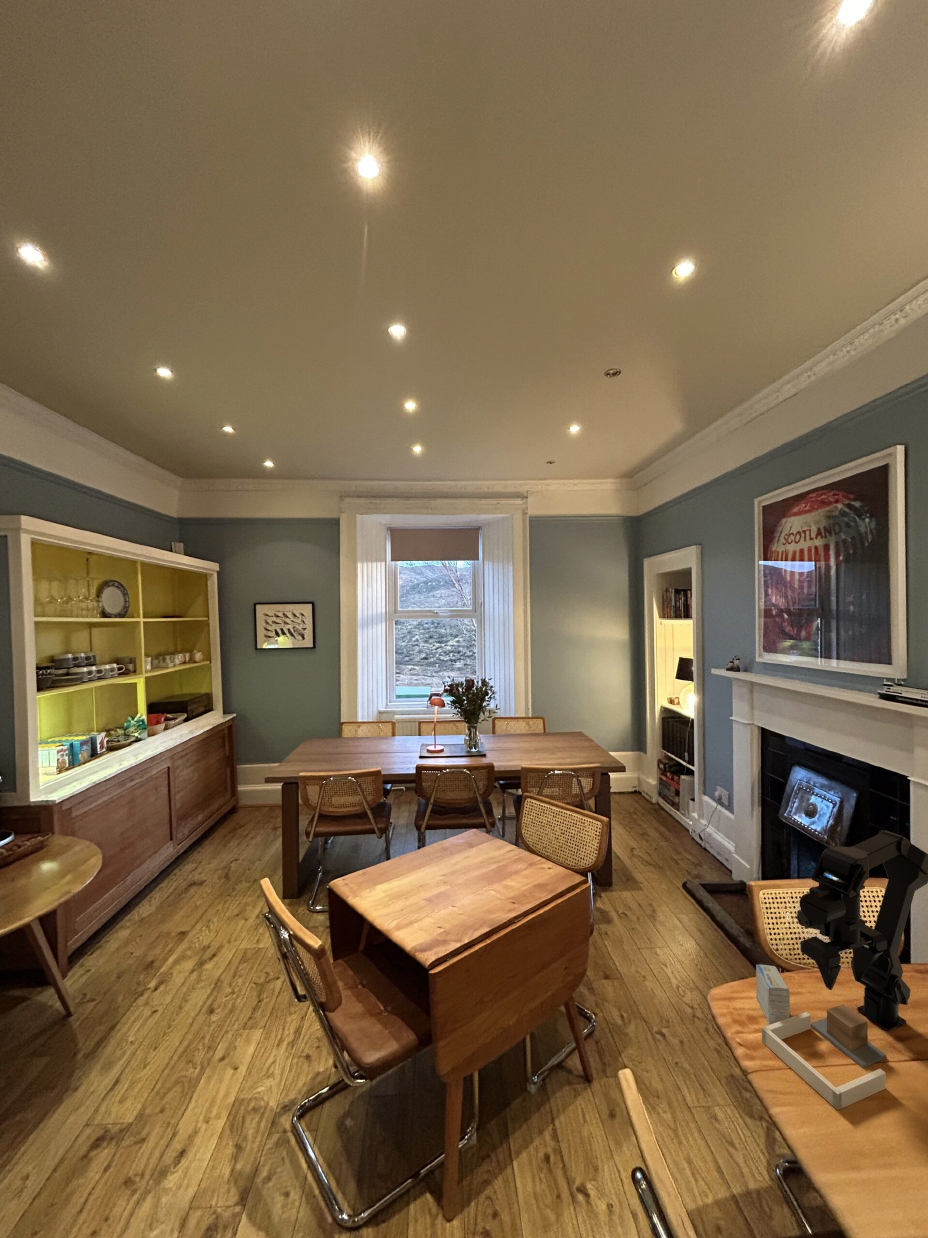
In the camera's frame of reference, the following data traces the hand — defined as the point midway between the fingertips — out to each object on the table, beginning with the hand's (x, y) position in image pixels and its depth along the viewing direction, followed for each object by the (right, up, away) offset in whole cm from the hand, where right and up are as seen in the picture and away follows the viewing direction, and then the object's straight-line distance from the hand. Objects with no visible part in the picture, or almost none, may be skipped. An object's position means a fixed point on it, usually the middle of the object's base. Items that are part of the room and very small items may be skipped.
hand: (843, 983), depth 110 cm
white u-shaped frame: (-9, -12, -6) cm, 16 cm away
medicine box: (-11, -12, +7) cm, 18 cm away
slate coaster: (0, -12, -1) cm, 12 cm away
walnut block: (0, -11, -1) cm, 11 cm away
